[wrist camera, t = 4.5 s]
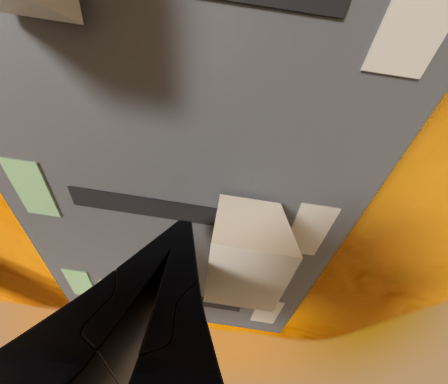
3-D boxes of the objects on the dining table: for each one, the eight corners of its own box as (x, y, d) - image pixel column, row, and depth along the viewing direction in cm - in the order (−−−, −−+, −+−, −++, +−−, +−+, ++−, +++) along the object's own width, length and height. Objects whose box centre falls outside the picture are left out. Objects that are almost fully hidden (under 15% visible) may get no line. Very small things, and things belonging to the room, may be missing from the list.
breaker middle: (280, 203, 8) (303, 257, 5) (263, 251, 10) (272, 312, 7) (220, 194, 8) (210, 244, 5) (213, 244, 10) (203, 301, 7)
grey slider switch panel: (477, -88, 6) (690, -254, 3) (274, 299, 18) (280, 334, 15) (-97, -178, 6) (-399, -429, 3) (93, 272, 18) (68, 302, 15)
